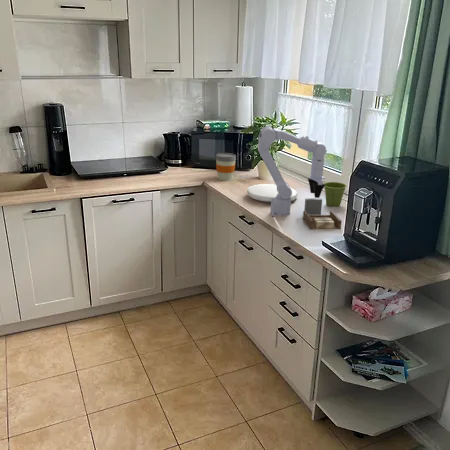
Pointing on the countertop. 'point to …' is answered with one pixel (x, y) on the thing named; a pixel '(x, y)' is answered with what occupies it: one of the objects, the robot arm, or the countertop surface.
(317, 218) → the birch offcut
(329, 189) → the plant pot
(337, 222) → the walnut rack
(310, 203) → the gray block
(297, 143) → the robot arm
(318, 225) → the birch offcut
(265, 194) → the plate
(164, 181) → the countertop surface
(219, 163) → the reusable coffee cup
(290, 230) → the countertop surface
